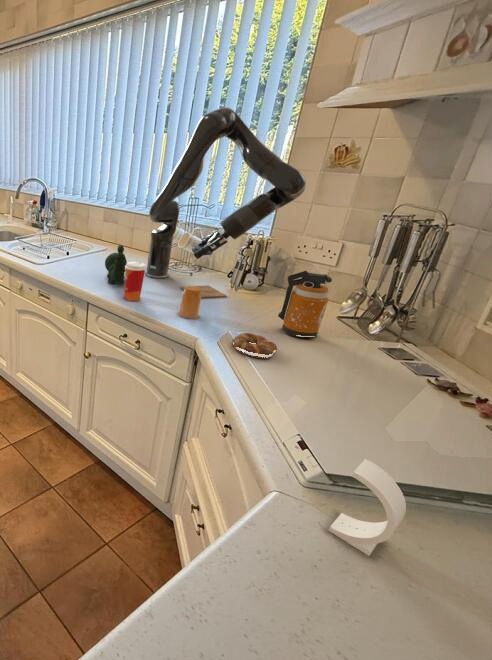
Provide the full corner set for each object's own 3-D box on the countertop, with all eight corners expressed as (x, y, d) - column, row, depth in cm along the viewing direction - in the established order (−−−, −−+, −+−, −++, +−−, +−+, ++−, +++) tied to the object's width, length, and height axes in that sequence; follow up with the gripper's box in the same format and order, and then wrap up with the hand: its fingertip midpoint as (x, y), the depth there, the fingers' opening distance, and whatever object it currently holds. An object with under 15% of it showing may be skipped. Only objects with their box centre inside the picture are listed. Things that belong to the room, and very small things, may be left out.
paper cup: (127, 293, 158) (131, 260, 153) (145, 298, 153) (150, 263, 148) (117, 298, 153) (121, 264, 148) (135, 304, 148) (140, 268, 143)
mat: (180, 288, 163) (181, 286, 163) (208, 286, 164) (208, 285, 164) (197, 298, 152) (197, 297, 152) (226, 297, 153) (226, 295, 153)
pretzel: (221, 341, 120) (223, 330, 118) (255, 339, 120) (258, 328, 119) (247, 361, 108) (250, 349, 107) (284, 359, 109) (288, 347, 108)
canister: (316, 343, 118) (336, 279, 110) (272, 333, 124) (288, 273, 116) (316, 332, 124) (335, 271, 117) (274, 323, 131) (290, 265, 123)
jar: (175, 312, 140) (180, 285, 137) (192, 311, 141) (196, 285, 137) (184, 319, 135) (189, 291, 131) (201, 318, 135) (206, 290, 131)
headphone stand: (340, 516, 64) (365, 458, 59) (389, 545, 59) (420, 485, 54) (328, 530, 61) (353, 471, 57) (378, 562, 57) (410, 501, 52)
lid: (206, 256, 132) (207, 250, 131) (188, 252, 137) (189, 247, 136) (216, 253, 135) (217, 247, 134) (198, 249, 140) (199, 244, 139)
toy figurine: (128, 293, 163) (123, 270, 185) (134, 250, 154) (128, 231, 176) (105, 292, 165) (102, 269, 187) (109, 249, 156) (106, 231, 178)
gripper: (252, 235, 123) (203, 268, 131) (243, 226, 135) (199, 256, 143) (236, 217, 122) (189, 251, 130) (228, 209, 135) (185, 241, 143)
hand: (194, 254), depth 137 cm, fingers closed on lid, 6 cm apart
